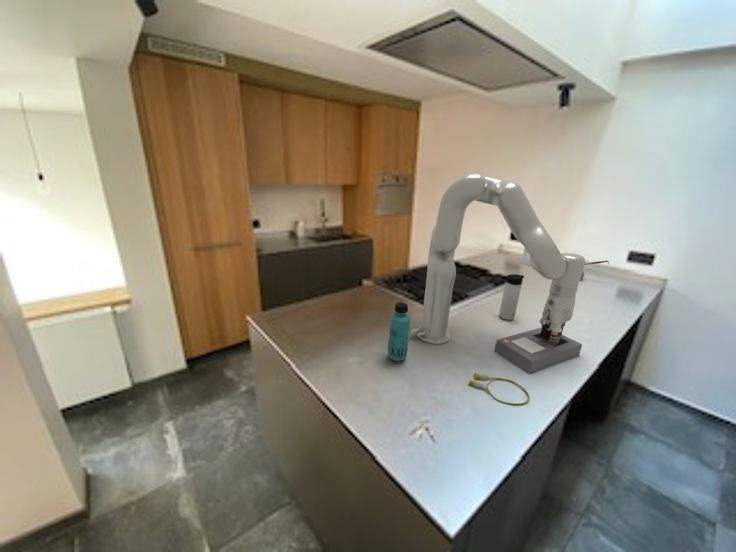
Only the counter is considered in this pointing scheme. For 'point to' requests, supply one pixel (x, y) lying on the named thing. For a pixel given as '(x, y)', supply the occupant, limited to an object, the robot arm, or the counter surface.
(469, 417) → the counter surface
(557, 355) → the socket block
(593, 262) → the coffee pot
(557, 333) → the pill bottle
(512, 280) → the travel mug
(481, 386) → the yellow connector cable
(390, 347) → the beverage bottle
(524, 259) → the supplement box
